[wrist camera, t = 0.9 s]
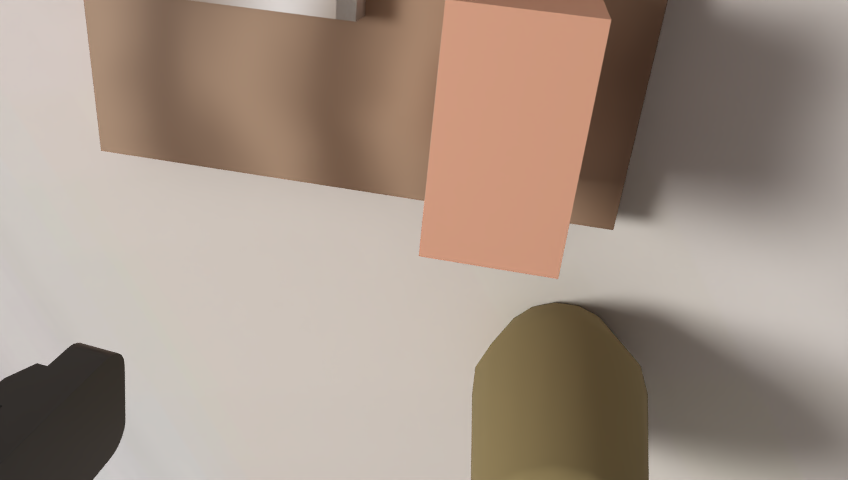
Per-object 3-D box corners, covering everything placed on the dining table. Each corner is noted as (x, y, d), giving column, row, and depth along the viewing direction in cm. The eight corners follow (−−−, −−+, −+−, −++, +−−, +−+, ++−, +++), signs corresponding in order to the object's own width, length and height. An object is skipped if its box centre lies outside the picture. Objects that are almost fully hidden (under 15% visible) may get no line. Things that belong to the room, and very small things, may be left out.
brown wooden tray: (704, -196, 26) (725, -208, 23) (610, 211, 33) (615, 245, 30) (85, -252, 28) (26, -269, 25) (123, 137, 36) (82, 161, 33)
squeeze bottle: (472, 283, 36) (403, 596, 20) (639, 277, 34) (710, 615, 18) (486, 412, 39) (437, 768, 23) (639, 413, 38) (699, 797, 22)
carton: (595, -19, 27) (611, 19, 19) (558, 178, 31) (558, 278, 23) (475, -32, 28) (440, -2, 20) (451, 162, 31) (415, 255, 23)
